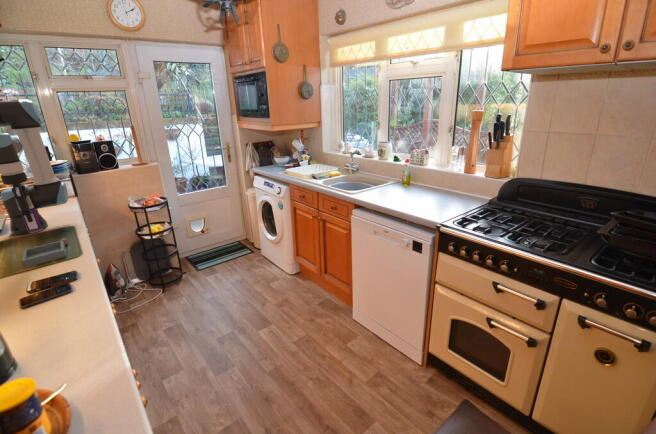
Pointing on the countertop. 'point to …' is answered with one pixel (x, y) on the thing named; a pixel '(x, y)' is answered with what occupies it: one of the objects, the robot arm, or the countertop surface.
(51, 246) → the tray
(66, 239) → the ball
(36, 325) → the countertop surface
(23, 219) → the container
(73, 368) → the countertop surface
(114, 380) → the countertop surface
